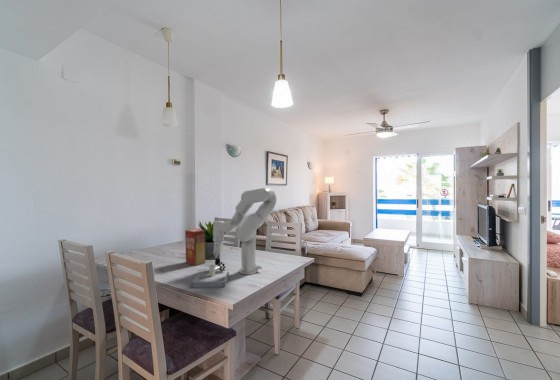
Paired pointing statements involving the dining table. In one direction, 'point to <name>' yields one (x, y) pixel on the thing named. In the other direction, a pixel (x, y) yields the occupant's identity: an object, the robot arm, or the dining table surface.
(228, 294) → the dining table surface
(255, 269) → the robot arm
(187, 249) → the food packaging
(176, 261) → the dining table surface
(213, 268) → the valve
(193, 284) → the tray frame
